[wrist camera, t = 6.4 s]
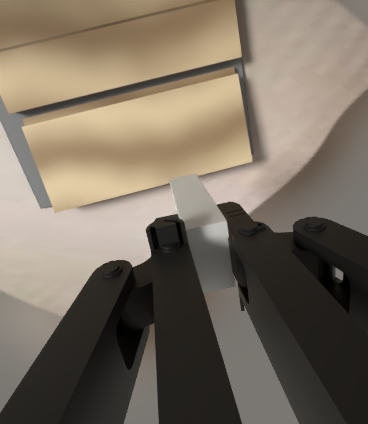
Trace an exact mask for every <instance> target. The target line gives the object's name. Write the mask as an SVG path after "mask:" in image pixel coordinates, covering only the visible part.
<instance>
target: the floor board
mask: <svg viewBox="0 0 368 424" xmlns="http://www.w3.org/2000/svg"><path fill="white" fill-rule="evenodd" d="M240 57H242V54H241V46H240V38H239V30H238V22H237V15H236V7H235V0H0V95H1V98H2V100H3V102H4V104H5V107H6V109H7V111H8V113H9V114H12V113H16V112H20V111H24V110H29V109H33V108H37V107H41V106H45V105H49V104H53V103H57V102H61V101H65V100H69V99H73V98H77V97H81V96H86V95H90V94H94V93H98V92H102V91H106V90H110V89H114V88H118V87H122V86H126V85H130V84H134V83H138V82H142V81H147V80H151V79H155V78H159V77H163V76H167V75H171V74H175V73H179V72H183V71H187V70H191V69H195V68H199V67H204V66H208V65H212V64H216V63H220V62H224V61H228V60H232V59H236V58H240Z"/></svg>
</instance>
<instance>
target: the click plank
mask: <svg viewBox="0 0 368 424" xmlns="http://www.w3.org/2000/svg"><path fill="white" fill-rule="evenodd" d="M22 120H23V123H24V125H25V126H23V127H22V130H23V132H24V135H25V138H26V140H27V143H28V145H29V148H30V150H31V153H32V155H33V158H34V161H35V163H36V166H37V168H38V171H39V173H40V176H41V178H42V181H43V184H44V186H45V189H46V191H47V194H48V196H49V199H50V201H51V204H52V207H53V209H54V212H55V213H56V212H60V211H64V210H67V209H71V208H75V207H79V206H83V205H87V204H91V203H95V202H98V201H102V200H106V199H110V198H114V197H118V196H122V195H126V194H129V193H133V192H137V191H141V190H145V189H149V188H153V187H157V186H161V185H164V184H168V183H170V180H169V179H172V178H176V177H181V176H186V175H191V174H197V175H198V176H199V175H203V174H207V173H211V172H215V171H219V170H223V169H226V168H230V167H234V166H238V165H242V164H246V163H250V162H253V161H252V155H251V149H250V143H249V137H248V131H247V125H246V119H245V113H244V107H243V101H242V95H241V89H240V83H239V77H238V74H235V69H234V67H231V68H227V69H223V70H219V71H215V72H211V73H207V74H203V75H199V76H195V77H191V78H186V79H182V80H178V81H174V82H170V83H166V84H162V85H158V86H154V87H150V88H146V89H142V90H138V91H134V92H130V93H126V94H122V95H118V96H113V97H109V98H105V99H101V100H97V101H93V102H89V103H85V104H81V105H77V106H73V107H69V108H65V109H61V110H57V111H53V112H49V113H45V114H40V115H36V116H32V117H28V118H24V119H22Z"/></svg>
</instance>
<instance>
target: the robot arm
mask: <svg viewBox="0 0 368 424" xmlns="http://www.w3.org/2000/svg"><path fill="white" fill-rule="evenodd" d="M169 180H170V185H171V190H172V195H173V200H174V205H175V210H176V214H174V215H170V216H165V217H160V218H156V220H155V221H154V222H153V223H151V224H150V225H149V226H148V227H147V229H146V233H147V237H148V241H149V245H150V249H151V257H150V258H149V259H148V260H147V261H145V262H144V263H142V264H140V265H137V266H135V267H132V265H131V264H130V262H128V261H125V260H116V261H110V262H108V263H105V264H103V265H102V266H100V267H99V268H97V269H96V270H95V271H94V272H93V273H92V275H91V276H90V278H89V279H88V281H87V282H86V284H85V285H84V287H83V288H82V290H81V292H80V293H79V295H78V296H77V298H76V299H75V301H74V302H73V304H72V305H71V307H70V308H69V310H68V311H67V313H66V314H65V316H64V317H63V319H62V320H61V322H60V323H59V325H58V326H57V328H56V329H55V331H54V333H53V334H52V335H51V337H50V339H49V340H48V341H47V343H46V344H45V346H44V348H43V349H42V351H41V352H40V354H39V355H38V357H37V358H36V360H35V361H34V363H33V364H32V366H31V367H30V369H29V370H28V372H27V373H26V375H25V376H24V378H23V379H22V381H21V382H20V384H19V385H18V387H17V388H16V390H15V392H14V393H13V395H12V396H11V397H10V399H9V400H8V402H7V404H6V405H5V407H4V408H3V410H2V411H1V413H0V424H124V420H125V417H126V413H127V409H128V406H129V402H130V399H131V395H132V392H133V388H134V385H135V381H136V378H137V374H138V371H139V367H140V364H141V360H142V356H143V353H144V349H145V346H146V342H147V339H148V335H149V328H150V327H149V325H151V324H153V323H154V325H155V348H156V369H157V390H158V391H157V392H158V414H159V424H242V422H241V419H240V415H239V412H238V409H237V405H236V402H235V399H234V395H233V392H232V389H231V385H230V382H229V378H228V375H227V372H226V368H225V365H224V361H223V358H222V355H221V352H220V348H219V345H218V341H217V338H216V334H215V331H214V328H213V325H212V321H211V318H210V314H209V311H208V308H207V304H206V301H205V297H204V294H203V293H208V292H212V291H217V290H221V289H225V288H230V287H234V286H235V279H234V276H235V278H236V280H237V282H238V289H239V297H240V304H241V311H244V306H245V308H246V310H247V312H248V314H249V316H250V319H251V321H252V323H253V325H254V327H255V329H256V332H257V334H258V336H259V338H260V340H261V342H262V344H263V347H264V349H265V351H266V353H267V355H268V357H269V360H270V362H271V364H272V366H273V368H274V370H275V373H276V375H277V377H278V379H279V381H280V383H281V385H282V388H283V390H284V392H285V394H286V396H287V398H288V400H289V403H290V405H291V407H292V409H293V411H294V413H295V415H296V418H297V420H298V422H299V424H368V236H366V235H364V234H361V233H359V232H357V231H354V230H352V229H350V228H347V227H345V226H343V225H340V224H338V223H336V222H333V221H331V220H328V219H325V218H317V217H307V218H304V219H300V220H298V221H296V222H295V223H294V225H293V232H285V233H274V232H273V231H272V230H271V229H270V228H269V227H268V226H267V225H266V224H264V223H261V222H254V221H253V220H252V219H251V218H250V216H249V215H248V214H246V212H245V210H243V208H242V207H241V206H240V205H239V204H237V203H234V202H227V203H222V204H218V205H216V203H215V202H214V200H213V199H212V197H211V196H210V194H209V193H208V191H207V189H206V188H205V186H204V185H203V183H202V182H201V180H200V178H199V177H198V175H197V174H191V175H186V176H181V177H176V178H172V179H169ZM335 267H336V268H338V269H339V270H341V271H342V272H343V281H342V280H340V279H338V278H336V277H335Z"/></svg>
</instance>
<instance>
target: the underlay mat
mask: <svg viewBox="0 0 368 424" xmlns="http://www.w3.org/2000/svg"><path fill="white" fill-rule="evenodd" d="M231 67H234V69H235V74H238V77H239V83H240V89H241V95H242V101H243V107H244V113H245V119H246V125H247V131H248V137H249V143H250V149H251V155H252V154H253V147H252V139H251V131H250V124H249V116H248V108H247V100H246V93H245V85H244V77H243V70H242V62H241V57H240V58H236V59H232V60H228V61H224V62H220V63H216V64H212V65H208V66H204V67H199V68H195V69H191V70H187V71H183V72H179V73H175V74H171V75H167V76H163V77H159V78H155V79H151V80H147V81H142V82H138V83H134V84H130V85H126V86H122V87H118V88H114V89H110V90H106V91H102V92H98V93H94V94H90V95H86V96H81V97H77V98H73V99H69V100H65V101H61V102H57V103H53V104H49V105H45V106H41V107H37V108H33V109H29V110H24V111H20V112H16V113H12V114H9V113H8V111H7V109H6V107H5V104H4V102H3V100H2V98H1V95H0V121H1V123H2V126H3V128H4V130H5V132H6V134H7V136H8V139H9V141H10V143H11V145H12V147H13V149H14V152H15V154H16V156H17V158H18V160H19V162H20V165H21V167H22V169H23V171H24V173H25V175H26V178H27V180H28V182H29V184H30V186H31V188H32V191H33V193H34V195H35V197H36V199H37V202H38V204H39V206H40V208H41V209H42V208H46V207H50V206H52V204H51V201H50V199H49V196H48V194H47V191H46V189H45V186H44V184H43V181H42V178H41V176H40V173H39V171H38V168H37V166H36V163H35V161H34V158H33V155H32V153H31V150H30V148H29V145H28V143H27V140H26V138H25V135H24V132H23V130H22V127H23V126H25V125H24V123H23V120H22V119H24V118H28V117H32V116H36V115H40V114H45V113H49V112H53V111H57V110H61V109H65V108H69V107H73V106H77V105H81V104H85V103H89V102H93V101H97V100H101V99H105V98H109V97H113V96H118V95H122V94H126V93H130V92H134V91H138V90H142V89H146V88H150V87H154V86H158V85H162V84H166V83H170V82H174V81H178V80H182V79H186V78H191V77H195V76H199V75H203V74H207V73H211V72H215V71H219V70H223V69H227V68H231Z"/></svg>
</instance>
